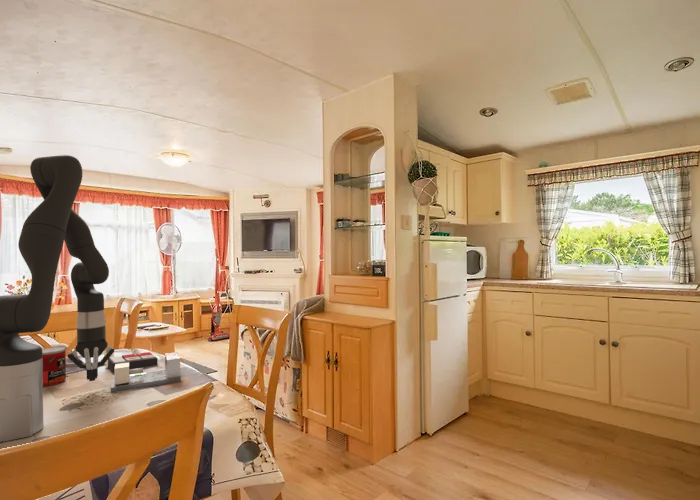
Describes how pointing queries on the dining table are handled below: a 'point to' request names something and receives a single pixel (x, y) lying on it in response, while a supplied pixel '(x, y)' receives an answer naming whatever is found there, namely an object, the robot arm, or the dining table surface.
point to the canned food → (54, 365)
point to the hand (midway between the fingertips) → (92, 380)
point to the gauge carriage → (124, 372)
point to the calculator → (133, 360)
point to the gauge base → (153, 376)
